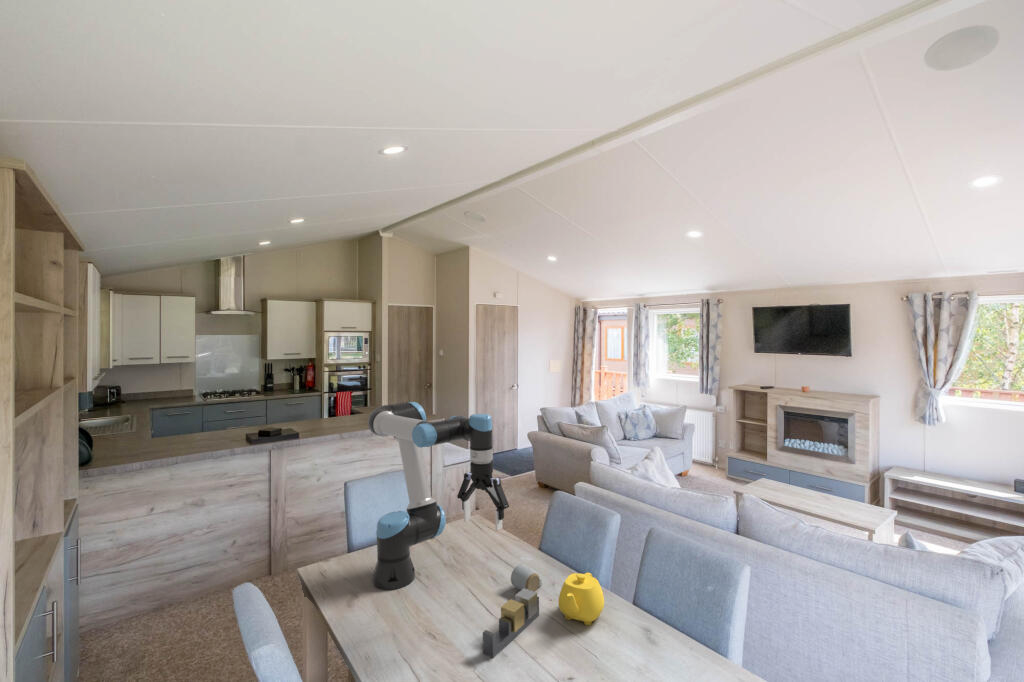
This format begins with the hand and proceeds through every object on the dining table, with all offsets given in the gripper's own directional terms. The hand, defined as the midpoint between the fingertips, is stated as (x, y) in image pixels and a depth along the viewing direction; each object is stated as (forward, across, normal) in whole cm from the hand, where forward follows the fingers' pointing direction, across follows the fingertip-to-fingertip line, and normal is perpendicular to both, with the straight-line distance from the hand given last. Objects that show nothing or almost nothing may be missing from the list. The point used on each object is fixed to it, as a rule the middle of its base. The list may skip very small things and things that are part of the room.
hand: (482, 524), depth 159 cm
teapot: (+27, +30, +11) cm, 42 cm away
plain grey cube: (+24, +17, 0) cm, 30 cm away
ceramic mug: (+27, +7, +16) cm, 32 cm away
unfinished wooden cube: (+24, +17, -8) cm, 31 cm away
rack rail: (+27, +17, -8) cm, 33 cm away
